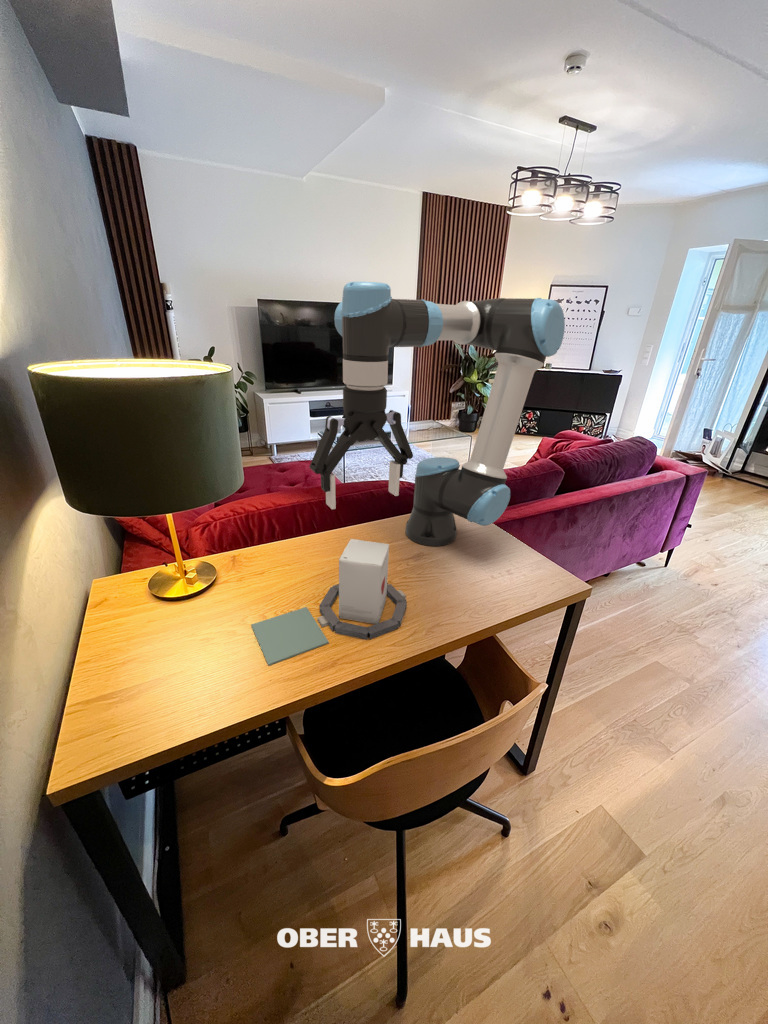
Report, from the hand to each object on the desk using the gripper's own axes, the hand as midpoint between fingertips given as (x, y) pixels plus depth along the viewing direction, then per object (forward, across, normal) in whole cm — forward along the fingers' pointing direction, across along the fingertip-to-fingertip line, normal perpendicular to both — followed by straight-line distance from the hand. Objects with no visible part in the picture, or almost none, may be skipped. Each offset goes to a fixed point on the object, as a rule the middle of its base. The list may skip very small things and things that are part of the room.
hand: (363, 499), depth 79 cm
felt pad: (+26, +17, 0) cm, 31 cm away
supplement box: (+27, 0, 0) cm, 27 cm away
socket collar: (+26, 0, 0) cm, 26 cm away
